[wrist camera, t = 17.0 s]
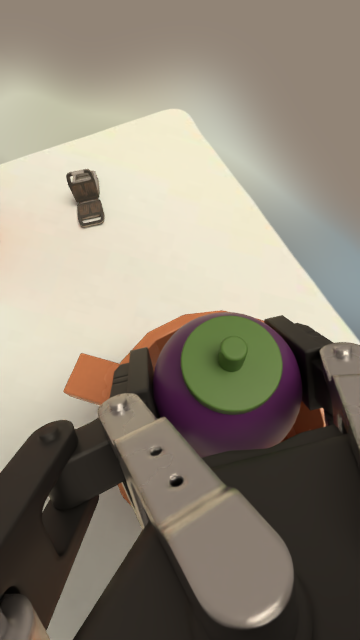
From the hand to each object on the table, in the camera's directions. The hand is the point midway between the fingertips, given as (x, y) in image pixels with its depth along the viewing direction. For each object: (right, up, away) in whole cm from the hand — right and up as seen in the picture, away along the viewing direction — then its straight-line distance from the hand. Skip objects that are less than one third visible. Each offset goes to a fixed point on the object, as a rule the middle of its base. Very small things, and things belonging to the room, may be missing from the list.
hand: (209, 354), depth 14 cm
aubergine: (+1, -3, +3) cm, 5 cm away
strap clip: (-12, +16, +26) cm, 32 cm away
